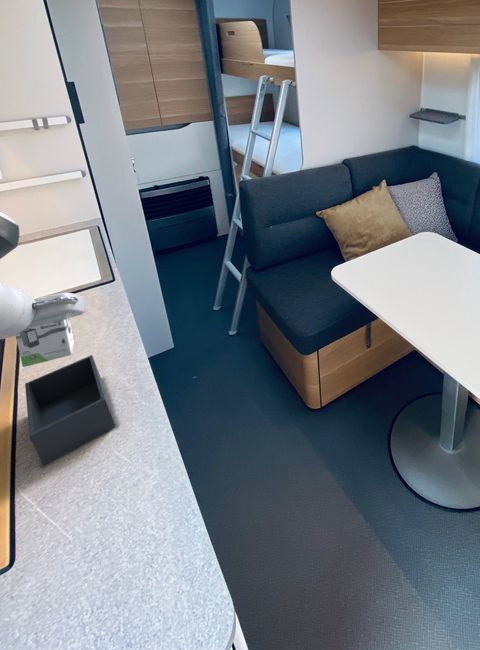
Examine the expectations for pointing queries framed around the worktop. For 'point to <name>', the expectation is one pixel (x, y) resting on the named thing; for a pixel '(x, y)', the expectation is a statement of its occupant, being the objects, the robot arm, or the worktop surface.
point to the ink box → (45, 342)
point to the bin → (67, 409)
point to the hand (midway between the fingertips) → (37, 322)
